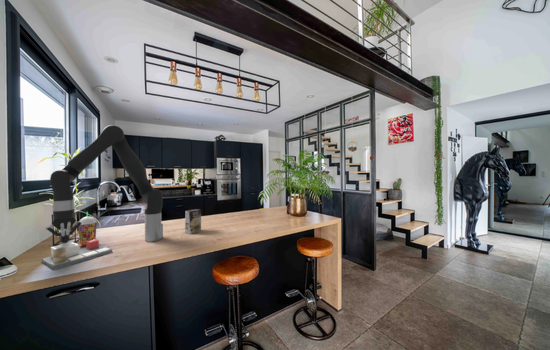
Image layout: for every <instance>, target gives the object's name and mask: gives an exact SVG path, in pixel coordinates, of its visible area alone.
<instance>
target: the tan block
mask: <svg viewBox="0 0 550 350" xmlns="http://www.w3.org/2000/svg"><path fill="white" fill-rule="evenodd" d="M65 261H66V248H59V249H55V250H53V264H58V263H62V262H65Z"/></svg>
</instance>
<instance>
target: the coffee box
mask: <svg viewBox="0 0 550 350" xmlns="http://www.w3.org/2000/svg"><path fill="white" fill-rule="evenodd" d="M184 213H185V214H184V215H185V217H184V218H185V219H184V221H185V222H184V223H185V224H184V229H185V230H184V231H185V233H186V234H188V235H192V234H195V233H200V232H201V231H202V209H200V208H198V209H197V208H195V209H188V210H185V212H184Z"/></svg>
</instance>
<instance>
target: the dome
mask: <svg viewBox="0 0 550 350" xmlns="http://www.w3.org/2000/svg"><path fill="white" fill-rule="evenodd" d="M57 246H58V245H57ZM70 246H73V244H72V243H71V242H70V241H68V242H67V243H62V242H61V243H60V244H59V246H58V247H57V249H59V248H66V247H70Z"/></svg>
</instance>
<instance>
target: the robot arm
mask: <svg viewBox="0 0 550 350" xmlns="http://www.w3.org/2000/svg"><path fill="white" fill-rule="evenodd" d="M110 147H112V148H113V150H114V151H115V153H116V155H117V157H118V158H119V159H118V160H119V161H120V163H121V165H122V167H123V168H124V170H125V172H126V173H127V174H128V176H129V178H130V179H131V180H132V182H133V183H134V184H135V186H136V188H137V189H138V192H139V194H140V196H141V197H142V200H143V201H144V202H146V208H145V209H144V242H148V243H149V242H151V243H152V242H156V241H160V240H162V239H163V238H164V224H163V222H162V209H163V205H164V204H163V201H164V200H163V199H164V196H163V192H162V191H161V190H160V189H159V188H155V187H153V186H152V184H151V183H150V182H149V179H148V176H147V171H146V168H145V166H144V164H143V163H142V161H141V160H140V158H139V157H138V155H137V154H136V153H135V152H134V150H133V149H132V147H130V145H129V143H128V141H127V139H126V137H125V132H124V131H123V129H122V128H121V127H120V126H118V125H115V124H114V125H113V124H110V125H107V126H105V127H104V128H103V129H102V131H101V132H100V134H99V135H98V137H97V138H95V140H94V141H92V142H91V143H90V144H88V146H86V147H85V148H83V149H81V150H80V151H79V152H78V153H76V155H74V156H73V157H72V158H71V159H70V160H69V161H68V162H67V165H65V167H63V168H62V169H59V170H58V169H57V170H55V171H53V172H51V174H50V179H49V181H50V187H51V190H52V191H53V193H52V194H53V195H52V196H53V197H52V199H53V200H52V201H53V202H52V222H51V224H50V225H49V226H46V227H45V230H46V231H48V232H50V233H51V234H52V235H54V236H57V237H59V238H60V243H61V244H62V243H67V242H70V235H72V234H73V233H75V232H76V230H78V227H79V226H80V225H81V222H79V221H77V220H76V218H75V206H76V205H75V201H74V191H73V189H72V187H71V183H72V182H73V181H75V180H76V179H77V178H78V177H79V176H80V174H81V173H82V172H83V171H84V170H85V169H87V167H89V166H90V165H91V164H92V163H93V162H94V161H95V160H96V159H98V158H99V156H101V154H103V152H104V151H106V150H107V149H108V148H110ZM55 228H56V229H57V230H58V231H56V230H55Z"/></svg>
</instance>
